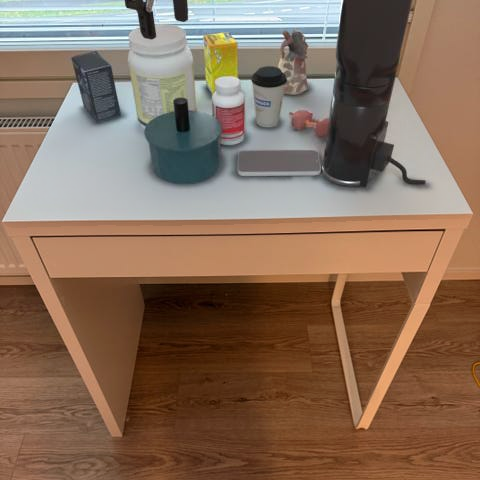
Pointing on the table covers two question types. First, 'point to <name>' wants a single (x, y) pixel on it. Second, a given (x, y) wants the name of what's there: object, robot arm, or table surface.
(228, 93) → the pill bottle
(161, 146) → the lid
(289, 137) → the table surface
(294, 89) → the figurine
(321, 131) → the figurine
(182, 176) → the tin
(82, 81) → the box
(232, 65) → the supplement box
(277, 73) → the coffee cup
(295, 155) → the smartphone
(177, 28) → the supplement tub
